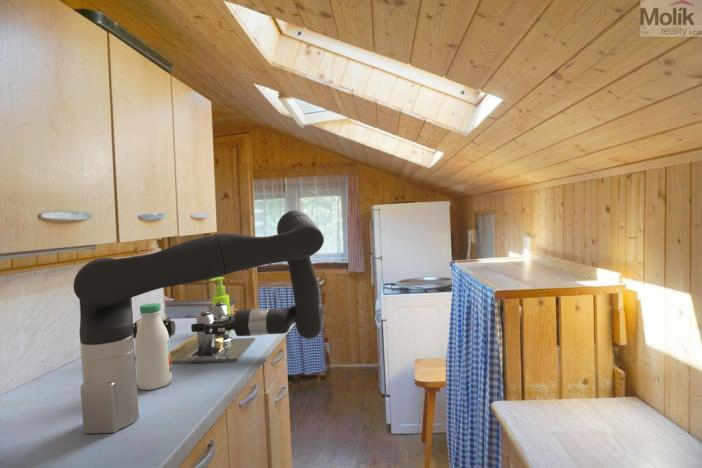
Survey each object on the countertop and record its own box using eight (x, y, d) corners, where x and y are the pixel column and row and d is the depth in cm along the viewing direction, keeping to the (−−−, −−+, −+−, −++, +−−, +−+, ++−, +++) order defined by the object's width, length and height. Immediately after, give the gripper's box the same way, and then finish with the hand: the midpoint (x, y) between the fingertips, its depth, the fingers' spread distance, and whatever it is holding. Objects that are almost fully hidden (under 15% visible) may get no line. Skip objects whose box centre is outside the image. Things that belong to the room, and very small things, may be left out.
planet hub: (212, 358, 118) (210, 313, 118) (195, 358, 118) (193, 314, 118) (218, 352, 123) (216, 309, 122) (202, 352, 123) (200, 310, 122)
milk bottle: (167, 389, 99) (162, 306, 98) (133, 392, 98) (127, 309, 97) (175, 377, 107) (170, 300, 106) (143, 380, 106) (138, 302, 105)
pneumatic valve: (172, 355, 125) (170, 316, 124) (131, 358, 123) (129, 319, 123) (178, 349, 130) (175, 312, 130) (139, 353, 129) (136, 315, 128)
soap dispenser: (208, 334, 147) (204, 278, 146) (224, 329, 153) (221, 275, 152) (218, 336, 144) (215, 279, 143) (234, 331, 149) (231, 276, 149)
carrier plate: (236, 361, 116) (233, 314, 116) (166, 364, 117) (163, 316, 116) (255, 340, 137) (252, 299, 136) (195, 342, 137) (193, 302, 137)
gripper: (258, 304, 127) (205, 306, 127) (245, 315, 113) (185, 317, 113) (260, 328, 127) (206, 330, 128) (247, 342, 113) (187, 345, 113)
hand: (197, 324), depth 120 cm, fingers open, 6 cm apart
